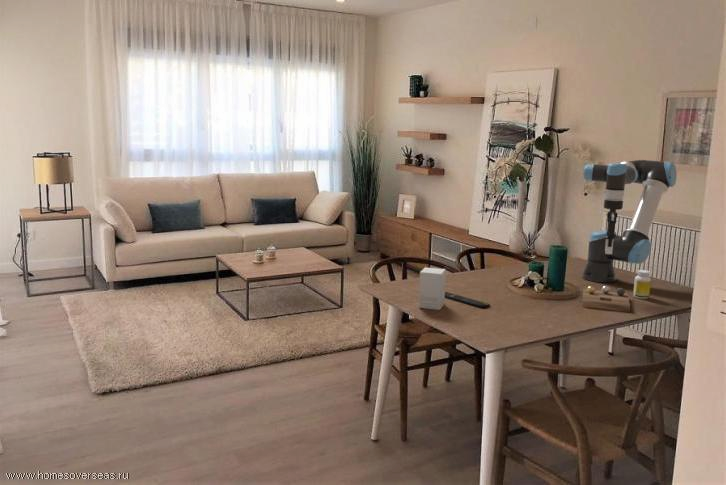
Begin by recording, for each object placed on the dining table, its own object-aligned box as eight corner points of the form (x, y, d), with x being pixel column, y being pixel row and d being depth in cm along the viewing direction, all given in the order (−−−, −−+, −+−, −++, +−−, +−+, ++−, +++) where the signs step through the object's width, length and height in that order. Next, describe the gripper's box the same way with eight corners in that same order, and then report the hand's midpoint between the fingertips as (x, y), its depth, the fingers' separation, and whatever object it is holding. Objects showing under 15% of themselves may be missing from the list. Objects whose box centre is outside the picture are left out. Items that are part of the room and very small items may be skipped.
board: (582, 293, 281) (583, 288, 281) (626, 298, 276) (627, 292, 275) (582, 306, 263) (582, 300, 262) (629, 311, 257) (630, 305, 257)
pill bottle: (650, 299, 275) (653, 273, 272) (634, 298, 276) (637, 272, 273) (647, 295, 281) (650, 269, 278) (631, 294, 282) (634, 268, 280)
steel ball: (601, 291, 276) (602, 284, 276) (609, 292, 275) (609, 285, 275) (601, 293, 273) (602, 286, 273) (609, 294, 272) (610, 287, 272)
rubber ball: (616, 293, 273) (616, 286, 273) (624, 294, 272) (625, 287, 272) (616, 295, 270) (617, 288, 270) (624, 296, 269) (625, 289, 269)
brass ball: (586, 292, 275) (587, 284, 275) (594, 292, 274) (595, 285, 274) (586, 293, 272) (587, 286, 272) (594, 294, 271) (595, 287, 271)
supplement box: (445, 304, 262) (446, 268, 259) (440, 310, 254) (441, 274, 251) (423, 301, 265) (424, 266, 262) (418, 307, 257) (419, 271, 254)
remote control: (445, 294, 278) (445, 291, 278) (491, 307, 261) (491, 304, 260) (437, 296, 274) (437, 293, 274) (483, 310, 257) (483, 307, 257)
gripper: (604, 196, 283) (599, 247, 288) (605, 201, 266) (599, 256, 271) (622, 197, 281) (616, 249, 285) (624, 202, 264) (618, 257, 269)
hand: (608, 252), depth 278 cm, fingers open, 5 cm apart
